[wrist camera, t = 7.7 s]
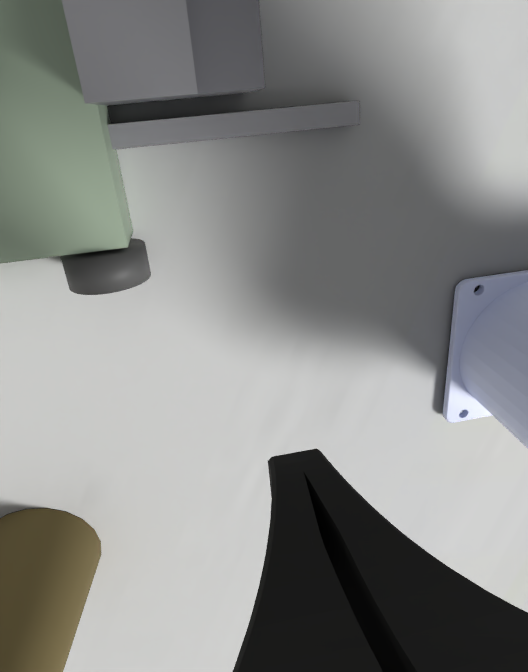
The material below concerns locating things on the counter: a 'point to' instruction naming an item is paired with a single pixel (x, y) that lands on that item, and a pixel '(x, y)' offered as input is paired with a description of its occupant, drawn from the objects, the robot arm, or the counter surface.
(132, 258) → the mower deck
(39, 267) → the counter surface
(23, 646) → the olive brown tapered figure
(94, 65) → the grey block on ledge
